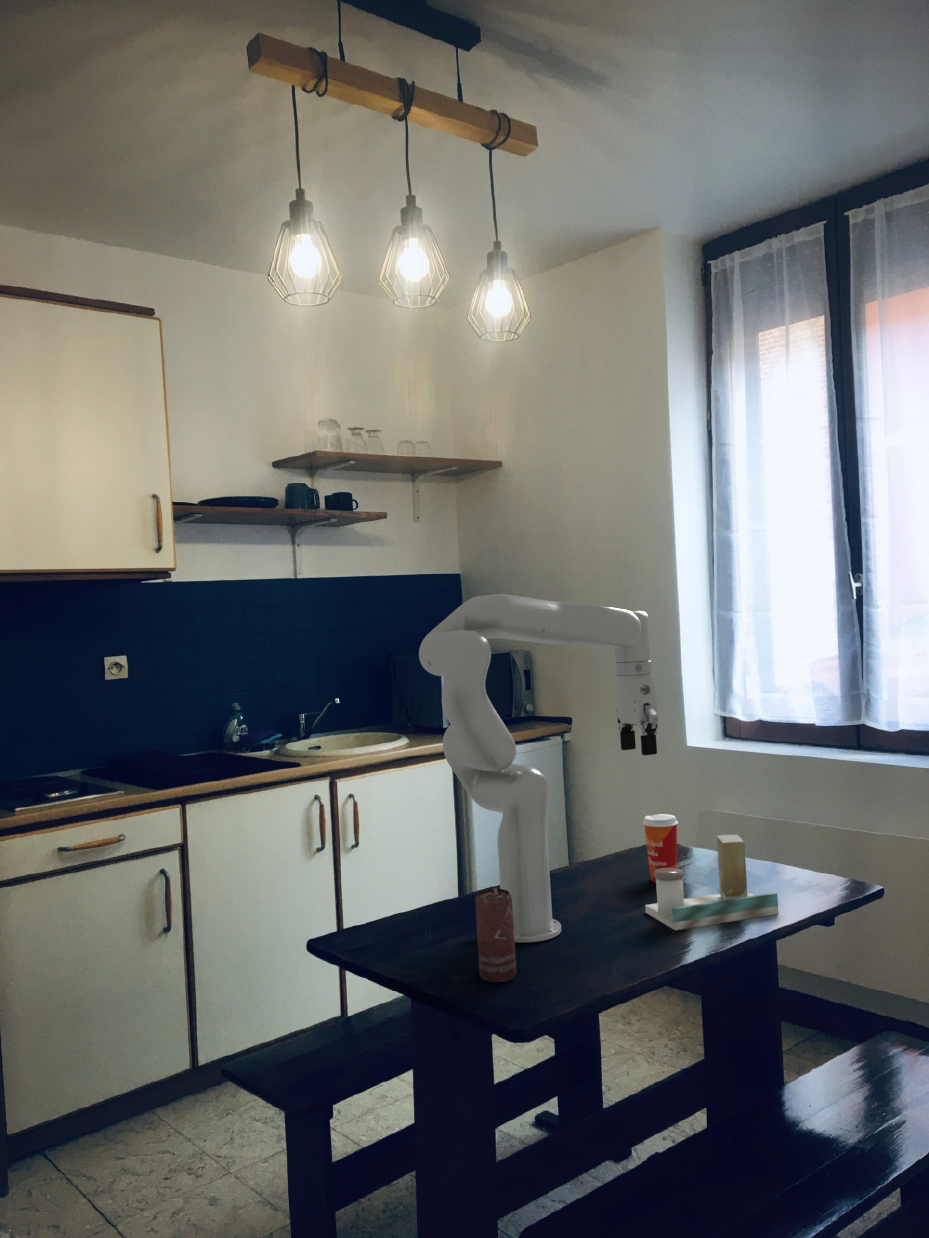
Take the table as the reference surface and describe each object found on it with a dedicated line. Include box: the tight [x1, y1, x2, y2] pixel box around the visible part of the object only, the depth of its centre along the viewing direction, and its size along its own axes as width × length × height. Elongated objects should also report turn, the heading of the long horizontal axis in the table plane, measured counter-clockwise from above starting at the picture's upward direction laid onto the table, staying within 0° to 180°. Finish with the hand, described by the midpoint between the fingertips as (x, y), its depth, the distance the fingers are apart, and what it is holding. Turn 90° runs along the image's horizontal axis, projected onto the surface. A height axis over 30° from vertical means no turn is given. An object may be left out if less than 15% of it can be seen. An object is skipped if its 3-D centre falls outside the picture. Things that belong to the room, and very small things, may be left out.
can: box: [474, 887, 517, 984], centre depth 156 cm, size 6×6×14 cm
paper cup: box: [642, 813, 679, 884], centre depth 207 cm, size 8×8×14 cm
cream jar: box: [654, 867, 685, 917], centre depth 179 cm, size 5×5×8 cm
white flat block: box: [644, 891, 779, 931], centre depth 182 cm, size 22×12×4 cm, turn 106°
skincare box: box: [716, 834, 748, 900], centre depth 185 cm, size 6×4×12 cm
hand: (638, 752), depth 196 cm, fingers open, 9 cm apart
